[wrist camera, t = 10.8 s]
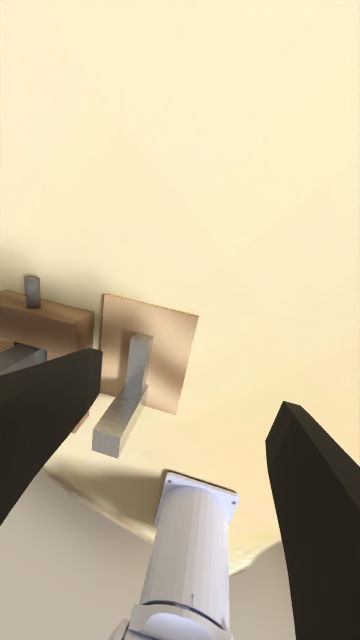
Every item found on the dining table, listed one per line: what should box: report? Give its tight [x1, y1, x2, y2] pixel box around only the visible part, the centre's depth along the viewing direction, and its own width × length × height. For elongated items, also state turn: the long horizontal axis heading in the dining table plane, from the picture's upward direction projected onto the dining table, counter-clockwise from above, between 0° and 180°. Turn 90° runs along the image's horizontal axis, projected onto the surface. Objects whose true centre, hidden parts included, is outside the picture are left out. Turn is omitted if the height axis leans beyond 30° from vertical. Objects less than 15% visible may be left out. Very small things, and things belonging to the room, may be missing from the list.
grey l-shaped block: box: [92, 332, 154, 458], centre depth 17 cm, size 7×2×6 cm, turn 169°
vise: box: [0, 277, 94, 433], centre depth 19 cm, size 14×9×6 cm, turn 169°
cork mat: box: [100, 294, 199, 415], centre depth 20 cm, size 10×8×1 cm
